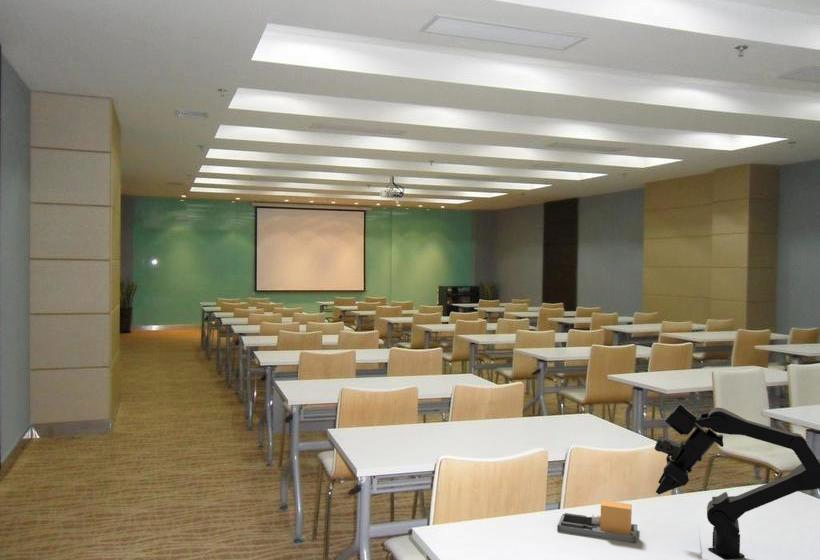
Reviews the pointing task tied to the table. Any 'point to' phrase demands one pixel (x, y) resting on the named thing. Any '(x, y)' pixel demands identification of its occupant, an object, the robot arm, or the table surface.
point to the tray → (591, 528)
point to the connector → (614, 517)
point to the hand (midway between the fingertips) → (658, 488)
